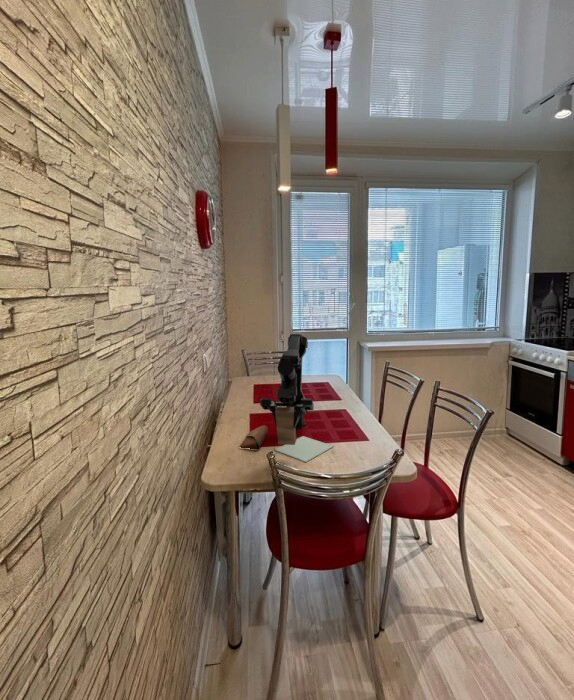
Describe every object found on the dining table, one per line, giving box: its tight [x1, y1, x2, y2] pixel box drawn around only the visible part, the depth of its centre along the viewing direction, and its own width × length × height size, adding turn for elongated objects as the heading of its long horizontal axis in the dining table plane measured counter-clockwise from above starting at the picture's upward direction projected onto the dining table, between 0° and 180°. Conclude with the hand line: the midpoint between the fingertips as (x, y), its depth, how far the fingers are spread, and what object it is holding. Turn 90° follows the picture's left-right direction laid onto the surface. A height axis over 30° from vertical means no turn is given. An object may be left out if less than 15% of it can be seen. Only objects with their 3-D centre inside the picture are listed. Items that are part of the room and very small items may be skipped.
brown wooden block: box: [275, 406, 297, 445], centre depth 131 cm, size 4×6×13 cm, turn 79°
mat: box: [274, 435, 335, 463], centre depth 140 cm, size 17×15×1 cm
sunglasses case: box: [238, 424, 269, 450], centre depth 148 cm, size 18×7×7 cm, turn 173°
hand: (285, 427), depth 129 cm, fingers closed on brown wooden block, 6 cm apart
